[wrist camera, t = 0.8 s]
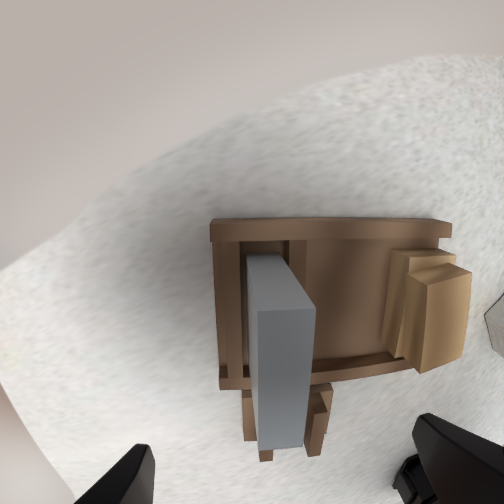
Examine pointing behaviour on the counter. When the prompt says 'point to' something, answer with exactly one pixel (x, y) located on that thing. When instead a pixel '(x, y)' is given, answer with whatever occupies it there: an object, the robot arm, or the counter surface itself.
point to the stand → (314, 421)
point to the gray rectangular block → (278, 350)
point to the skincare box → (496, 326)
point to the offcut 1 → (396, 292)
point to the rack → (317, 287)
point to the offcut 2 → (436, 315)
